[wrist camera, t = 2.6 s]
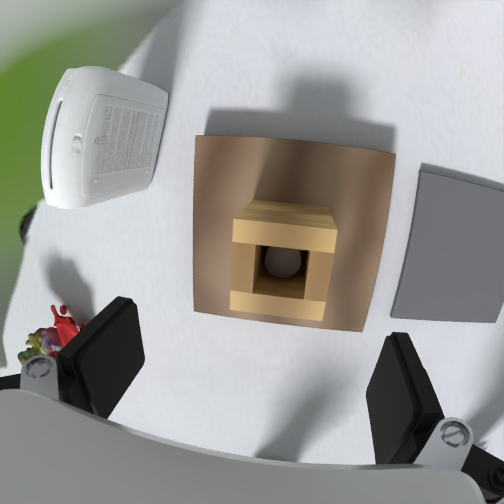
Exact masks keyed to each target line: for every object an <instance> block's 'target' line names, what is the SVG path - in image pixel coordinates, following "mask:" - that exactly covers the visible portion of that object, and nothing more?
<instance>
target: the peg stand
mask: <svg viewBox="0 0 504 504" xmlns="http://www.w3.org/2000/svg"><path fill="white" fill-rule="evenodd" d="M395 158H396V154H393V153H387V152H382V151H376V150H370V149H363V148H357V147H350V146H343V145H335V144H327V143H319V142H310V141H300V140H289V139H276V138H262V137H243V136H212V135H196V138H195V160H194V191H193V297H194V311H195V312H201V313H207V314H213V315H220V316H226V317H233V318H240V319H247V320H254V321H261V322H269V323H277V324H285V325H293V326H302V327H311V328H321V329H331V330H342V331H353V332H363V329H364V325H365V322H366V318H367V314H368V310H369V306H370V302H371V298H372V294H373V290H374V285H375V281H376V277H377V272H378V267H379V263H380V258H381V253H382V247H383V242H384V237H385V231H386V225H387V219H388V213H389V206H390V199H391V192H392V184H393V176H394V167H395ZM252 200H262V201H273V202H283V203H293V204H302V205H311V206H320V207H328V208H329V210H330V213H331V215H332V218H333V220H334V222H335V225H336V227H337V237H336V244H335V251H334V257H333V264H332V270H331V276H330V282H329V287H328V293H327V298H326V304H325V309H324V314H323V319H322V321H316V320H307V319H298V318H289V317H281V316H273V315H265V314H257V313H250V312H243V311H236V310H230V287H231V261H232V237H233V219H234V218H235V217H236V216H237V215H238V214H239V213H240V212H241V211H242V210H243V209H244V208H245V207H246V206H247V205H248V204H249V203H250V202H251V201H252ZM305 252H306V250H301V249H292V248H283V247H274V246H267V251H266V256H265V265H266V268H267V270H268V271H269V272H270V273H271V274H272V275H274V276H276V277H279V278H288V277H291V276H293V275H294V274H295V273H296V272H297V271H298V270H299V268H300V266H301V260H305Z"/></svg>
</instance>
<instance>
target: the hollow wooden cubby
mask: <svg viewBox="0 0 504 504" xmlns="http://www.w3.org/2000/svg"><path fill="white" fill-rule="evenodd" d="M336 237H337V227H336V225H335V222H334V220H333V218H332V215H331V213H330V210H329V208H328V207H320V206H311V205H302V204H293V203H283V202H273V201H262V200H252V201H251V202H250V203H249V204H248V205H247V206H246V207H245V208H244V209H243V210H242V211H241V212H240V213H239V214H238V215H237V216H236V217H235V218H234V219H233V237H232V261H231V287H230V310H236V311H243V312H250V313H257V314H265V315H273V316H281V317H289V318H298V319H307V320H316V321H322V319H323V314H324V309H325V304H326V298H327V293H328V287H329V282H330V276H331V270H332V264H333V257H334V251H335V244H336ZM267 246H274V247H283V248H292V249H301V250H306V252H305V260H301V266H300V268H299V270H298V271H297V272H296V273H295V274H294V275H293V276H291V277H288V278H279V277H276V276H274V275H272V274H271V273H270V272H269V271H268V270H267V268H266V265H265V256H266V251H267Z"/></svg>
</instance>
